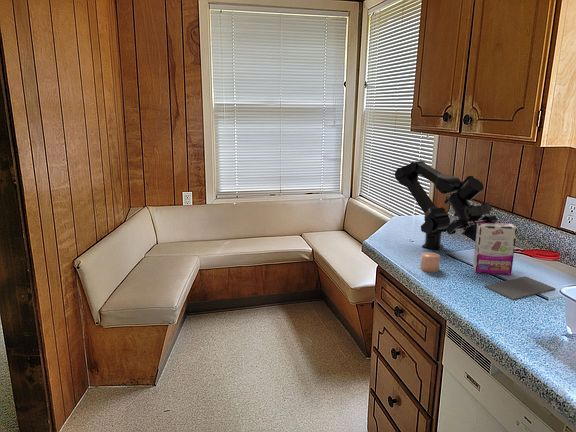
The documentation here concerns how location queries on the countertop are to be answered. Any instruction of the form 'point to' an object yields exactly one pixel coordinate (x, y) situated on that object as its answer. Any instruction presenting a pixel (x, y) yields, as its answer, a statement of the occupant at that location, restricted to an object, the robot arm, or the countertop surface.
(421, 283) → the countertop surface
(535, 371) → the countertop surface
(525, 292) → the mat
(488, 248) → the candy bar box
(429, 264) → the tan short cylinder
